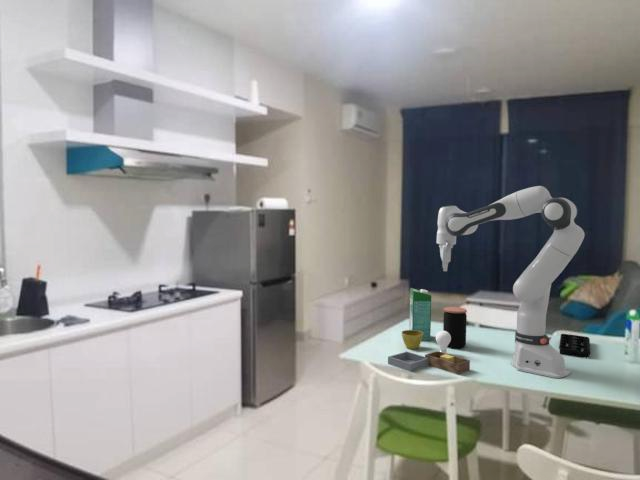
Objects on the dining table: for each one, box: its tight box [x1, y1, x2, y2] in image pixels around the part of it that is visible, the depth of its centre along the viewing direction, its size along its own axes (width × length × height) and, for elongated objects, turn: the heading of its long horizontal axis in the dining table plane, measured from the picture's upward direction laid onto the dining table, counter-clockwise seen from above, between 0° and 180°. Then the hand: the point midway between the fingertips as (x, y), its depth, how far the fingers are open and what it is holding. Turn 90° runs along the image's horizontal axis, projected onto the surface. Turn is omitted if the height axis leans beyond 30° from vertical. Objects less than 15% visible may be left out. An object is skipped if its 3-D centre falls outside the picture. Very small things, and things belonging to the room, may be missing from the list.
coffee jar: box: [442, 306, 468, 350], centre depth 228 cm, size 11×11×18 cm
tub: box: [387, 351, 429, 372], centre depth 199 cm, size 12×12×4 cm
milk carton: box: [408, 287, 432, 341], centre depth 242 cm, size 9×9×25 cm
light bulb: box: [435, 330, 451, 354], centre depth 214 cm, size 7×7×11 cm
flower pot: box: [401, 329, 423, 350], centre depth 225 cm, size 10×10×7 cm
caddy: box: [424, 350, 471, 375], centre depth 196 cm, size 16×8×4 cm, turn 40°
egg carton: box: [558, 333, 591, 359], centre depth 226 cm, size 18×30×4 cm, turn 164°
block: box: [440, 353, 455, 363], centre depth 196 cm, size 4×4×4 cm
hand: (444, 269), depth 222 cm, fingers open, 8 cm apart
